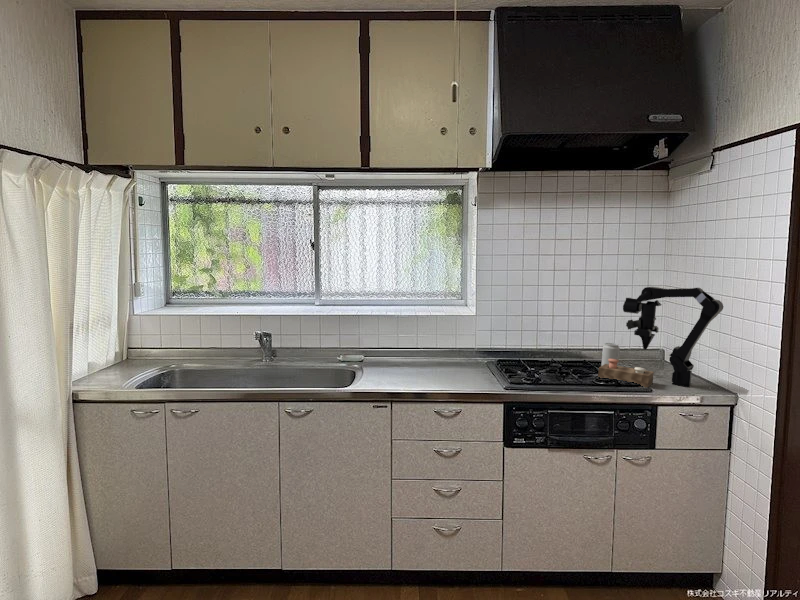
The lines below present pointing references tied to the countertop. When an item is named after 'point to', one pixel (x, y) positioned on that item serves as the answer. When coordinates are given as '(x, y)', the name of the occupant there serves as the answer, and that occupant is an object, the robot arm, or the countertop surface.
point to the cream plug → (639, 370)
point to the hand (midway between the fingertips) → (644, 349)
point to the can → (610, 353)
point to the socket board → (626, 375)
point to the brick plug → (613, 363)
